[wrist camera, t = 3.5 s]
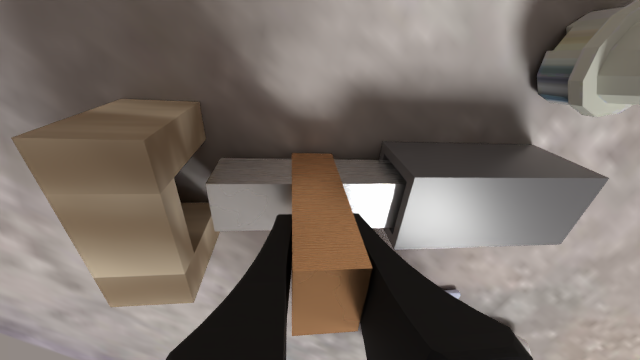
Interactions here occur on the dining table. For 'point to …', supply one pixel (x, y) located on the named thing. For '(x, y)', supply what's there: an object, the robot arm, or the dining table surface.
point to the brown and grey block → (313, 225)
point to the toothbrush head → (596, 63)
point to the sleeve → (486, 195)
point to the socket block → (127, 196)
